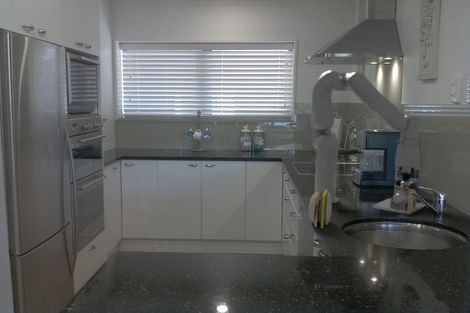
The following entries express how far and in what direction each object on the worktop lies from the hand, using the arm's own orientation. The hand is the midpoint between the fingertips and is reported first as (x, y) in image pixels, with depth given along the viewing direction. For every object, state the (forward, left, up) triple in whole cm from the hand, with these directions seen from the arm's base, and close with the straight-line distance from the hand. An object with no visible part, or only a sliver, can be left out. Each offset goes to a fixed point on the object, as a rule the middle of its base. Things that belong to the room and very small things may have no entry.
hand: (405, 181), depth 201 cm
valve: (-11, -1, -10) cm, 15 cm away
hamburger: (-59, +12, -10) cm, 61 cm away
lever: (-5, -3, 0) cm, 6 cm away
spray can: (+18, +8, -10) cm, 22 cm away
